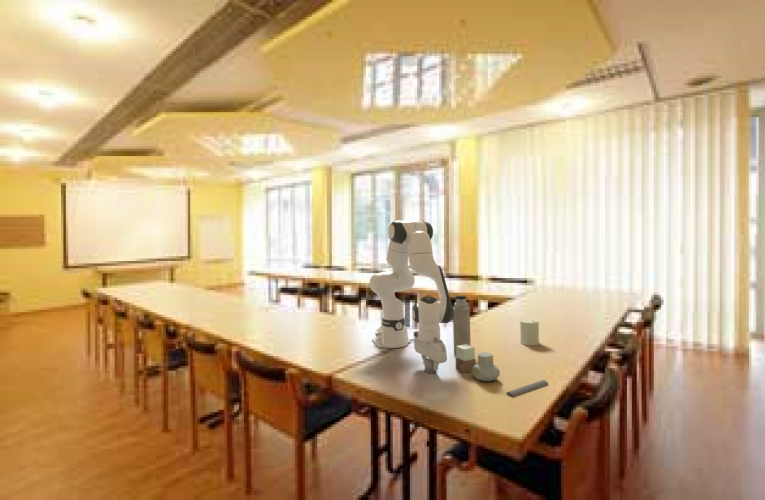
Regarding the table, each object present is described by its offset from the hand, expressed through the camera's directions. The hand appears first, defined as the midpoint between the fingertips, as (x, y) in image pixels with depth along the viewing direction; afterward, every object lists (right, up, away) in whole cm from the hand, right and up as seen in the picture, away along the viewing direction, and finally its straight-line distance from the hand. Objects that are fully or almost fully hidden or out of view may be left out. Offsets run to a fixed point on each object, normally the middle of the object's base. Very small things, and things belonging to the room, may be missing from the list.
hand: (430, 367), depth 175 cm
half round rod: (+34, -3, -22) cm, 41 cm away
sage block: (+15, +4, +1) cm, 16 cm away
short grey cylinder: (0, -2, 0) cm, 2 cm away
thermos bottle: (+18, 0, +22) cm, 29 cm away
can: (+55, +2, +37) cm, 67 cm away
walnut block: (+15, -1, +1) cm, 15 cm away
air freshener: (+21, -2, -11) cm, 24 cm away
